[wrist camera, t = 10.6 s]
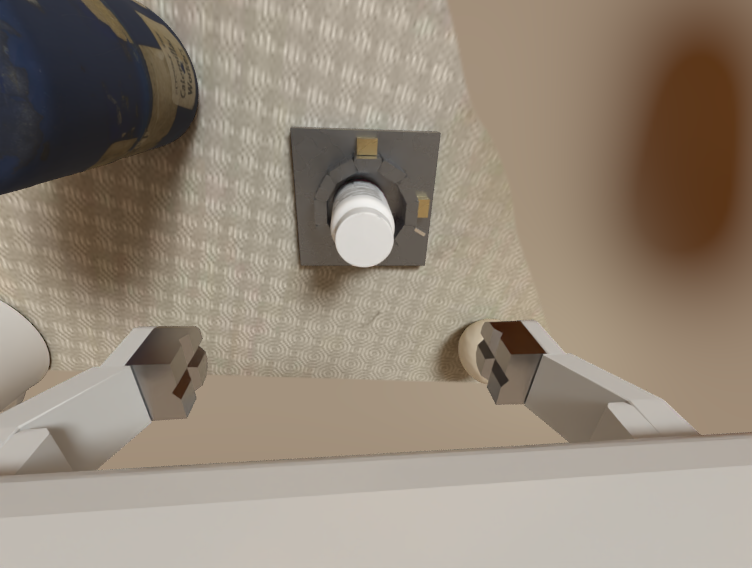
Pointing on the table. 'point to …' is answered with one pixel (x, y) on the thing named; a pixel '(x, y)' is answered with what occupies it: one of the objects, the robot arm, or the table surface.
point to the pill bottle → (362, 223)
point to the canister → (86, 86)
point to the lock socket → (369, 162)
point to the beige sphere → (472, 348)
